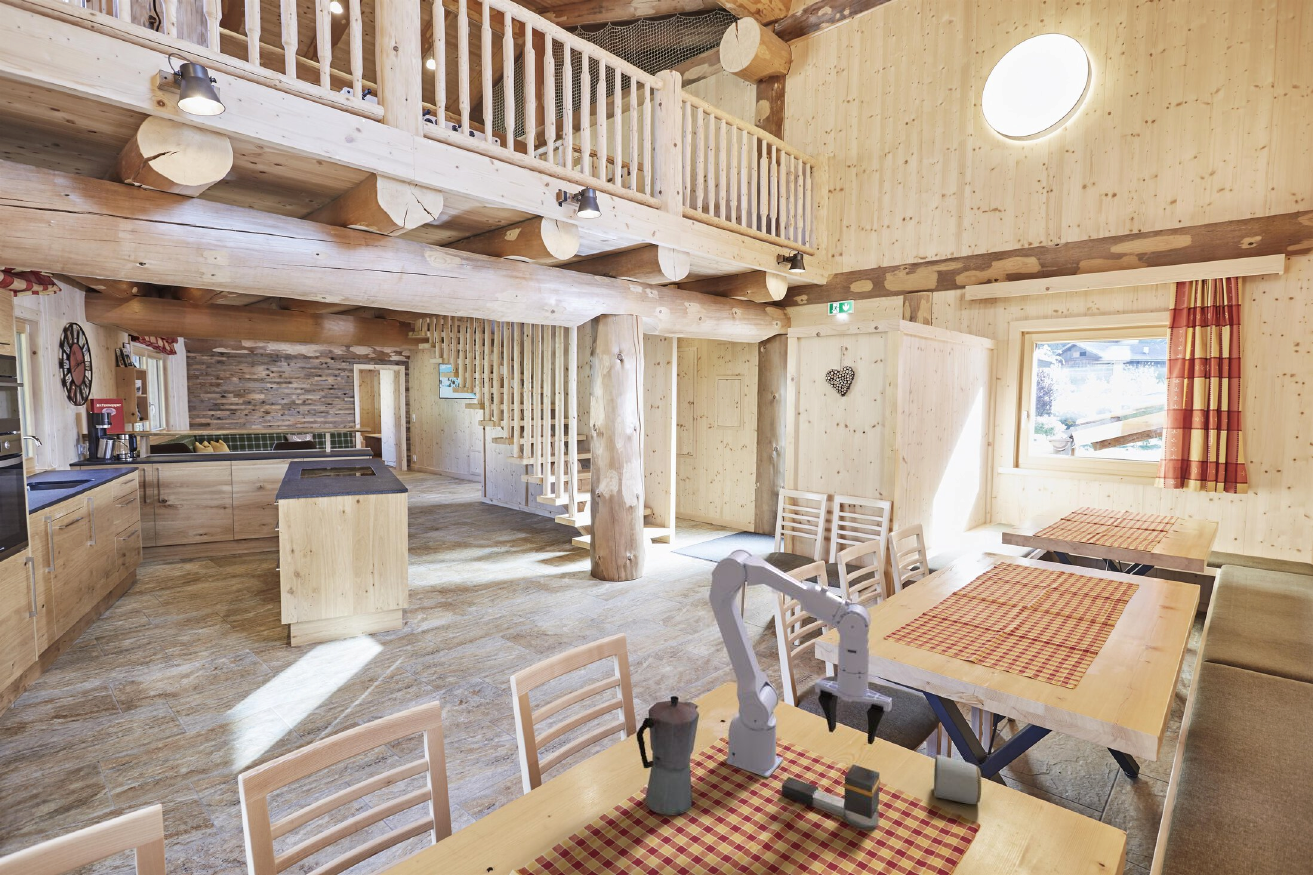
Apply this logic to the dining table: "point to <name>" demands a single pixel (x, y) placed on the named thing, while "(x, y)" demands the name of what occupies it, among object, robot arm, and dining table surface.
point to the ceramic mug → (957, 780)
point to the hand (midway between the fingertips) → (851, 735)
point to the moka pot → (669, 755)
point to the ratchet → (826, 803)
